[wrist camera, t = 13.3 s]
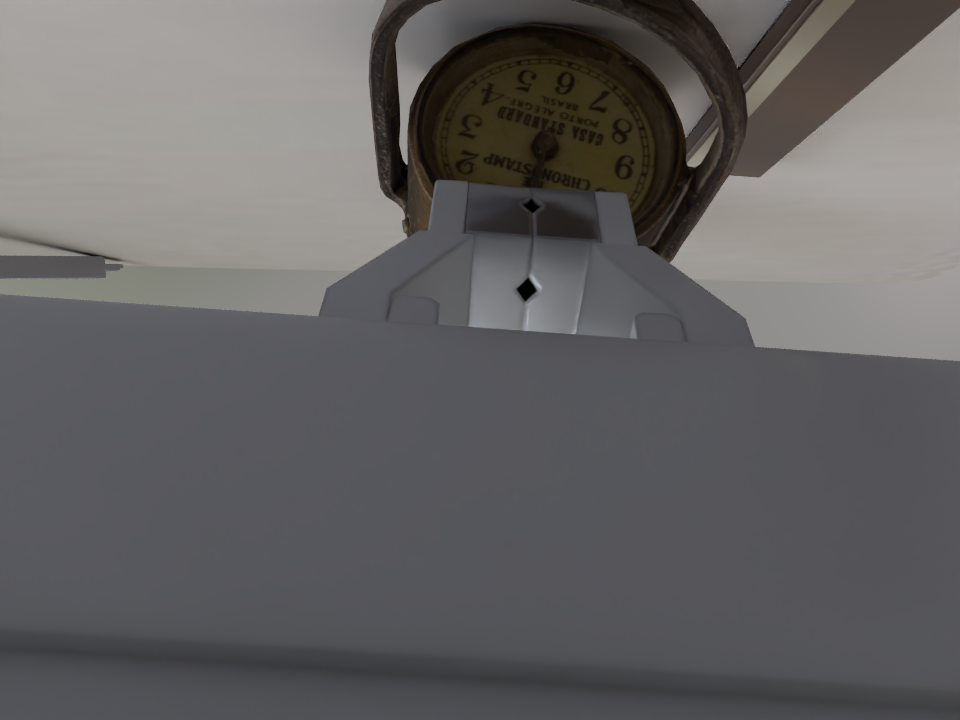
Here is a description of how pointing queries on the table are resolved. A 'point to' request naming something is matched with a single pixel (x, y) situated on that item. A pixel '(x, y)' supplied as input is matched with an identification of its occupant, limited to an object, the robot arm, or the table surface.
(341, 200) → the table surface
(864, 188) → the table surface
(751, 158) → the ruler
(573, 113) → the antique alarm clock
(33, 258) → the caliper
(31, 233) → the table surface
